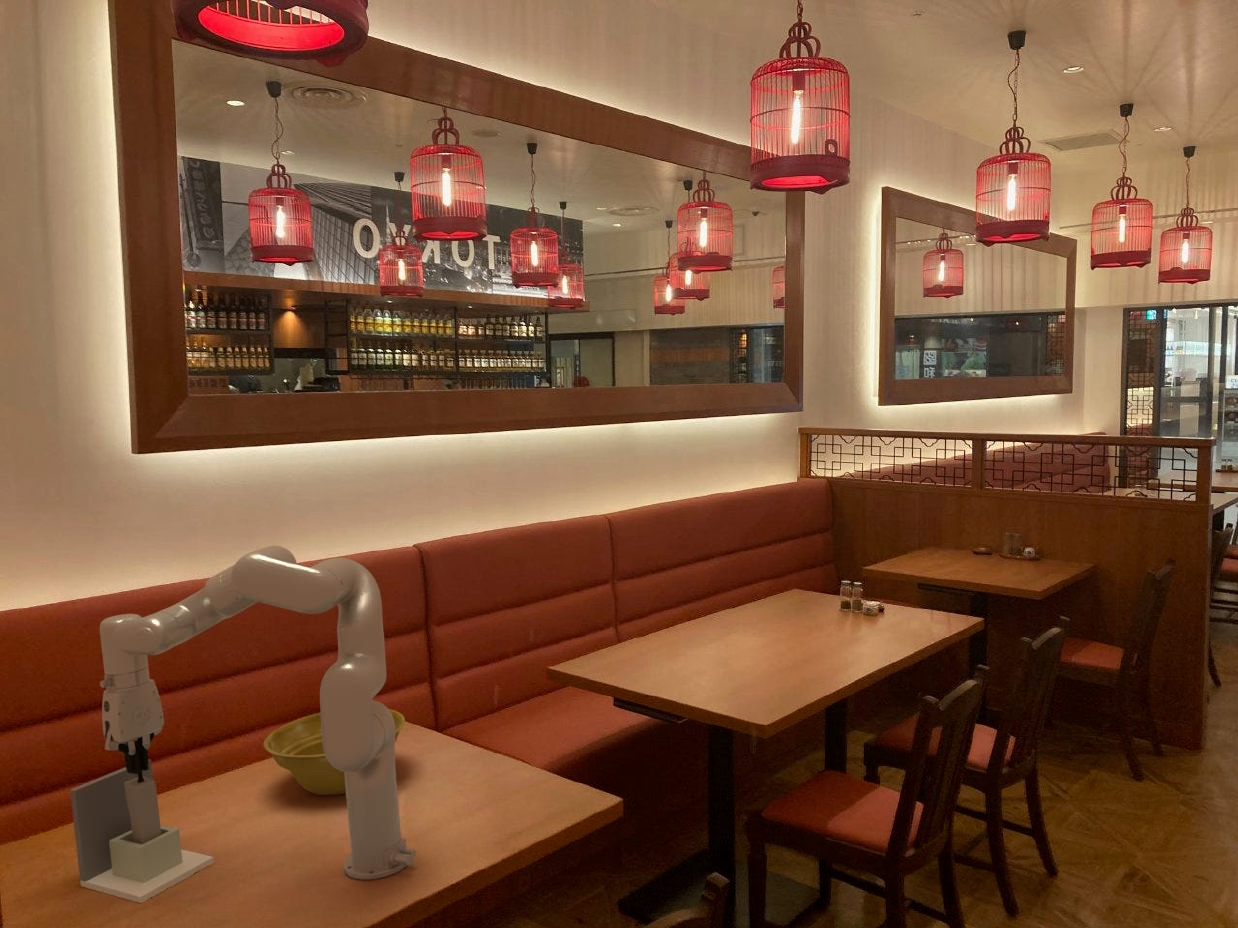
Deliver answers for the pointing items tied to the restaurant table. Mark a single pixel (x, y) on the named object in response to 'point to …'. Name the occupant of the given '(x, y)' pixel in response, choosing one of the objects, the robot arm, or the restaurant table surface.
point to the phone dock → (125, 844)
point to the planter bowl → (310, 754)
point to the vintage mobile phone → (143, 806)
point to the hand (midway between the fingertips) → (138, 770)
